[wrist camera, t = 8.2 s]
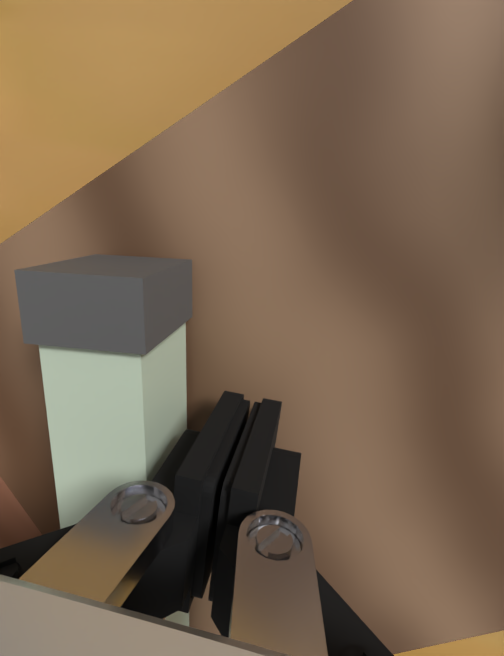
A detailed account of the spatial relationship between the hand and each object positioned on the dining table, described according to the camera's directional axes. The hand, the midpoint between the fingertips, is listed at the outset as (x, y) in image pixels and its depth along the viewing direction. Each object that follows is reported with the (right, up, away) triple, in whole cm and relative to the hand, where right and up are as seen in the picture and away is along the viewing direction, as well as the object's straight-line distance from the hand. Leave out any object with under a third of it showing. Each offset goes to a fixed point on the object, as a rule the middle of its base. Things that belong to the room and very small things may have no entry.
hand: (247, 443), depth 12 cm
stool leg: (-3, -2, +2) cm, 4 cm away
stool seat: (0, 0, +4) cm, 4 cm away
